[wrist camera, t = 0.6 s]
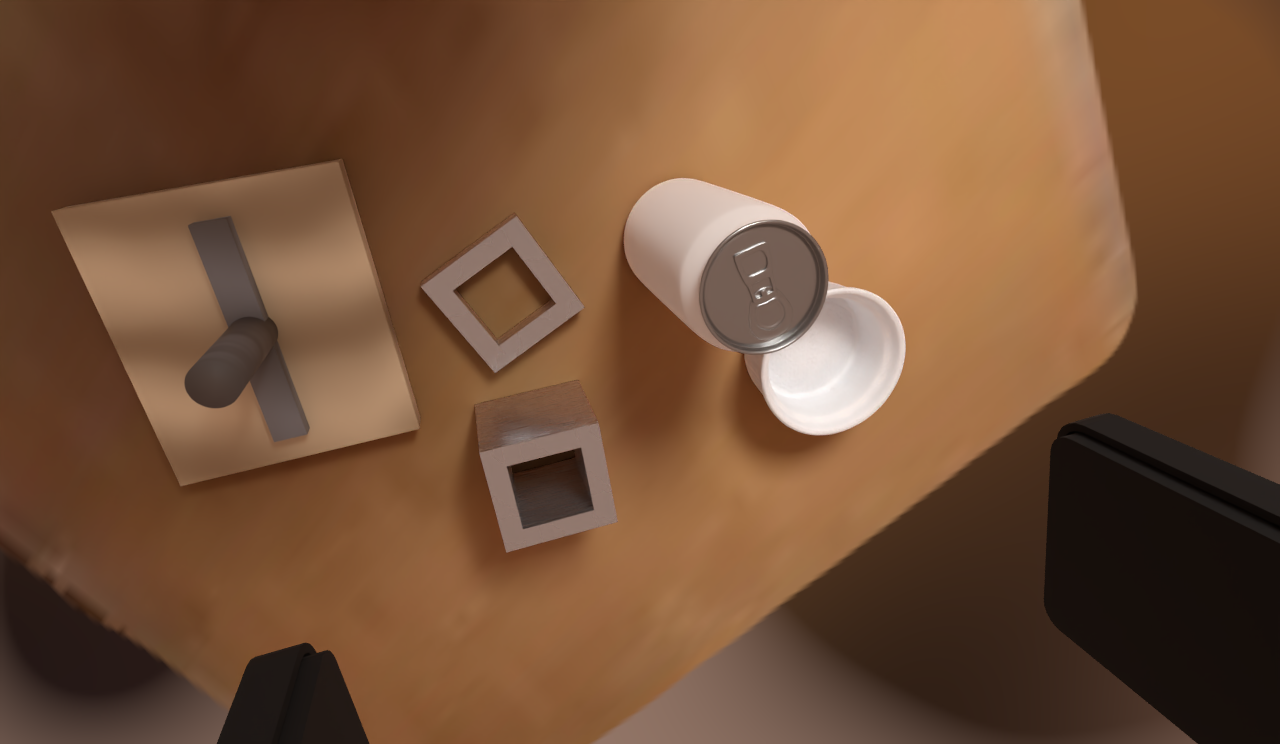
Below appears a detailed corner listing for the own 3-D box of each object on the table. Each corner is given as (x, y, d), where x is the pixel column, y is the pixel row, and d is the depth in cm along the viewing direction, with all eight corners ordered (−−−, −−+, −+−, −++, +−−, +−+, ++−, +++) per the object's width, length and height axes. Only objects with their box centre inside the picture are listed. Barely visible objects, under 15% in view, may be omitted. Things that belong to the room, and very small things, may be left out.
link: (474, 404, 40) (479, 452, 35) (578, 379, 41) (598, 423, 36) (498, 494, 43) (506, 552, 37) (596, 468, 44) (617, 521, 38)
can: (645, 311, 41) (718, 390, 30) (603, 205, 38) (666, 249, 27) (746, 265, 41) (854, 325, 31) (712, 157, 39) (816, 182, 28)
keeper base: (67, 206, 32) (-51, 241, 24) (342, 158, 34) (312, 177, 27) (190, 472, 38) (124, 569, 30) (420, 417, 40) (414, 494, 32)
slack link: (421, 281, 37) (420, 286, 36) (514, 212, 37) (516, 216, 36) (493, 365, 40) (495, 373, 39) (580, 301, 40) (584, 307, 39)
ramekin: (772, 432, 46) (803, 464, 42) (708, 325, 42) (735, 349, 38) (886, 355, 46) (927, 379, 42) (832, 241, 42) (871, 256, 38)
